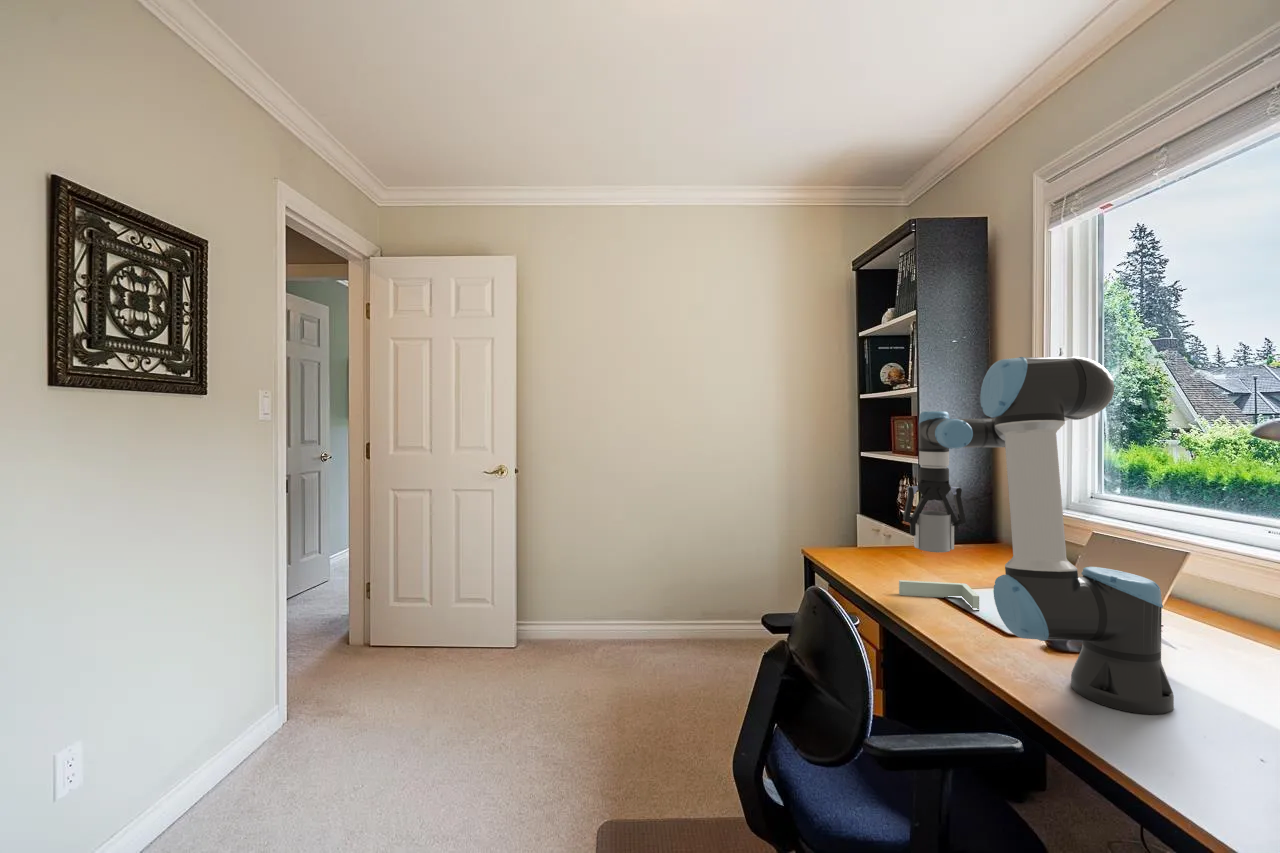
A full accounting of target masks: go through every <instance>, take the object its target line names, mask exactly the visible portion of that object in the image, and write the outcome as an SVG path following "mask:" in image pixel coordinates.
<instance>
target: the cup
mask: <svg viewBox="0 0 1280 853" xmlns="http://www.w3.org/2000/svg"><path fill="white" fill-rule="evenodd" d="M916 523H917V524H918V525H919V548H917V549H918V550H920V551H924V552H929V553H947V552H951V550H952V549H951V524H952V522H951V514H950V515H948V514H947V512H946V511H939V510H922V512H921V514H919V518H918V520H917V522H916Z"/></svg>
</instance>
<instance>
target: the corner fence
mask: <svg viewBox="0 0 1280 853" xmlns="http://www.w3.org/2000/svg"><path fill="white" fill-rule="evenodd" d="M898 595H899V596H909V597H927V598H944V597H948V596H962V597H963V598H964V599H965V600H966V601H967V602H968V603H969V604H970V605H971V606H972V608H977V609H979V610H980V595H979V594H978V593H977V592H975V591H974V590H973V589H972V588H971V587H970V586H969V585H968V584H967V583H962V582H961V583H960V582H942V581H938V582H937V581H922V580H921V581H920V580H919V581H918V580H904V579H903V580H902V579H899V580H898Z"/></svg>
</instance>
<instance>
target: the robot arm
mask: <svg viewBox="0 0 1280 853" xmlns="http://www.w3.org/2000/svg"><path fill="white" fill-rule="evenodd" d="M1114 393H1115V382H1114V379H1113V377H1112V375H1111V374H1110V372H1109V371H1108V370H1107V369H1106V368H1105V367H1104V366H1103V365H1102V364H1100V363H1099V362H1096V361H1095V360H1092V359H1090V358H1087V357H1082V356H1081V357H1080V356H1067V357H1062V356H1061V357H1057V356H1056V357H1055V356H1054V357H1052V356H1051V357H1046V356H1045V357H1044V356H1043V357H1041V356H1040V357H1038V356H1037V357H1036V356H1035V357H1034V356H1033V357H1027V356H1026V357H1024V356H1019V357H1014V358H1002V359H999V360H997V361H994V363H993V364H991V366H990V367H989V368H988V369H987V372H986V374H985V376H984V377H983V380H982V383H981V388H980V395H979V396H980V398H979V399H980V400H979V401H980V406H981V407H980V408H981V409H982V412H983V414H984V415H985V416H987V417H990V418H950V414H949V412H948V411H944V410H943V411H942V410H941V411H937V410H936V411H930V410H928V411H927V410H926V411H921V412H920V413H919V418H918V439H919V440H918V442H919V443H918V449H919V451H918V452H919V454H918V464H919V466H920V467H919V468H918V483H917V485H914V486H910V485H908V486H906V492H907V497H906V501H905V505H904V506H905V507H904V511H903V516H902V520H903V521H904V522H906V523H909V534H910V535H911V536H912V537H913V547H914V548H915V549H918V548H919V525H918V524H917V520H918V518H919V514H921V512H922V511H924V508H925V506H926V504H927V503H928V501H940V502H941V504H942V505H943V508H944V510H945V512H947V514H948V515H950V514H951V550H955V538H958V537H959V526H960V525H962V524H963V525H964V524H966V522H967V521H966V515H965V511H964V506H963V501H962V492H963V491H962V488H961V487H959V486H952V485H950V469H949V467H948V466H949V465H950V450H952V449H955V450H957V449H962V448H963V449H964V448H968V449H969V448H1005V460H1006V462H1005V463H1006V473H1007V475H1006V476H1007V489H1008V500H1009V501H1008V502H1009V503H1008V504H1009V516H1010V528H1011V529H1010V530H1011V543H1012V545H1011V546H1012V555H1013V556H1012V557H1011V558H1010V559H1009V560H1008V561H1007V562H1006V563H1005V564H1004V570H1005V574H1001V575H999V576H998V577H996V579H995V580H994V585H993V590H992V591H993V598H994V604H995V607H996V610H997V612H998V616H999V618H1000V619H1001V622H1003V624H1004V626H1005V627H1006V628H1007V629H1008V631H1009V632H1010V633H1012V634H1013V635H1014V636H1016V637H1018V638H1021V639H1027V640H1037V641H1038V640H1039V641H1040V642H1044V641H1080V642H1081V644H1082V645H1081V649H1080V652H1079V654H1078V656H1077V659H1076V661H1075V662H1074V666H1073V668H1072V671H1071V674H1070V682H1071V683H1070V686H1071V688H1072V689H1073V691H1075V692H1076V693H1078V695H1080V696H1081V697H1083V698H1085V699H1087V700H1089V701H1092V702H1094V703H1096V704H1099V705H1102V706H1104V707H1108V708H1111V709H1115V710H1120V711H1123V712H1128V713H1135V714H1142V715H1143V714H1144V715H1162V714H1167V713H1170V712H1172V711H1173V709H1174V707H1175V705H1174V704H1175V703H1174V701H1175V700H1174V699H1175V698H1174V697H1175V696H1174V692H1173V690H1172V687H1171V685H1170V682H1169V679H1168V676H1167V673H1166V671H1165V668H1164V666H1163V663H1162V612H1163V611H1162V609H1163V608H1164V604H1163V599H1162V591H1161V587H1160V585H1158V583H1156V582H1155V581H1153V580H1152V579H1149V578H1147V577H1144V576H1142V575H1137V574H1134V573H1130V572H1126V571H1122V570H1117V569H1111V568H1105V567H1099V566H1086V567H1083V568H1082V570H1081V574H1080V575H1081V576H1079V575H1078V574H1079V573H1078V568H1077V567H1076V566H1075V565H1074V564H1073V563H1071V562H1070V561H1069V560H1068V559H1067V547H1066V545H1067V544H1066V536H1065V535H1066V533H1065V523H1064V522H1065V521H1064V512H1063V501H1062V500H1063V499H1062V486H1061V476H1060V475H1061V474H1060V466H1059V465H1060V462H1059V450H1058V440H1057V439H1058V438H1057V433H1058V431H1059V430H1060V429H1061V428H1062V427H1063V426H1064V425H1065V424H1066V421H1069V420H1073V421H1079V420H1083V419H1087V418H1088V417H1091V416H1093V415H1095V414H1098V413H1100V412H1101V411H1102V410H1104V409H1105V408H1106V407H1108V405H1109V404H1110V403H1111V401H1112V399H1113V396H1114ZM917 491H919V493H920V494H921V496H920V498H919V501H918V502H917V505H916V507H915V509H914V511H913V513H912V508H913V503H914V499H915V495H916V494H917ZM950 491H951V494H952V495H953V499H954V504H955V505H954V506H955V508H956V509H955V510H956V514H955V513H954V511H953V509H952V507H951V504H950V503H949V500H948V498H947V495H948V494H949V493H950ZM911 514H912V515H911ZM956 515H957V516H956Z"/></svg>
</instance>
